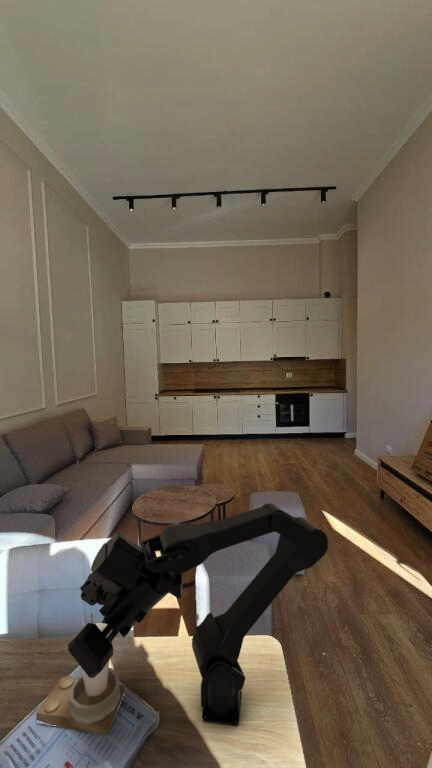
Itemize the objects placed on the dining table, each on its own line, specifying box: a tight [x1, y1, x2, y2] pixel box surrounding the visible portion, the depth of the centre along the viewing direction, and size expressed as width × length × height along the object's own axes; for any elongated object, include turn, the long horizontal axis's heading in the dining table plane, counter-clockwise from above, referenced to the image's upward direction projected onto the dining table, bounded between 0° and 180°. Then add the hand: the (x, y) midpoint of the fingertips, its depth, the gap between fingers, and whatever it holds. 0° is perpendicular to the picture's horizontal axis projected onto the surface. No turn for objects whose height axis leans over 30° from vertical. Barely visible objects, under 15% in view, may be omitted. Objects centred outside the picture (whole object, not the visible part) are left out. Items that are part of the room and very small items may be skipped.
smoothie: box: [80, 612, 112, 696], centre depth 64 cm, size 6×6×14 cm
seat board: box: [35, 667, 126, 735], centre depth 65 cm, size 13×8×4 cm, turn 81°
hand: (88, 644), depth 64 cm, fingers closed on smoothie, 6 cm apart
